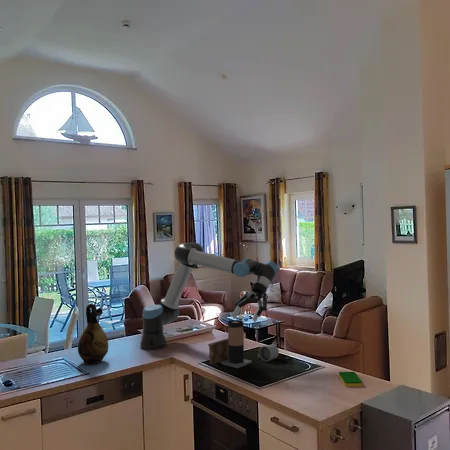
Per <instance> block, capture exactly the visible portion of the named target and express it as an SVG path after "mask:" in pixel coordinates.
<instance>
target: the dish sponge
mask: <svg viewBox="0 0 450 450" xmlns="http://www.w3.org/2000/svg"><path fill="white" fill-rule="evenodd" d="M338 378H339V379H340V381H341V382H342V384H343V385H344V387H345V388H346V387H347V388H351V387H353V388H354V387H355V388H356V387H358V388H359V387H360V388H362V387H363V381H362V379H361V378H360V377H359V376H358V374H357V373H356V372H355V371H338Z"/></svg>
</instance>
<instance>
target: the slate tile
mask: <svg viewBox="0 0 450 450" xmlns="http://www.w3.org/2000/svg"><path fill="white" fill-rule="evenodd" d="M252 363H253V361H252V360H249V359H246V358H244V361H243V362H242V363H231V362H230V361H229V359H228V360H225V361H222V362H220V364H221V365H224V366H227V367H231V368H235V369H239V368H242V367H245V366H247V365H250V364H252Z"/></svg>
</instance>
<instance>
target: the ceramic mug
mask: <svg viewBox="0 0 450 450" xmlns="http://www.w3.org/2000/svg"><path fill="white" fill-rule="evenodd" d="M279 354H280V353H279V348H278V346H277V345H275V344H268V345H263V346H261V347H260V348H259V350H258V354H257V358H258V359H260V360H261V361H262V362H270V361H273V360H275V359H277V357H278V356H279Z"/></svg>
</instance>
